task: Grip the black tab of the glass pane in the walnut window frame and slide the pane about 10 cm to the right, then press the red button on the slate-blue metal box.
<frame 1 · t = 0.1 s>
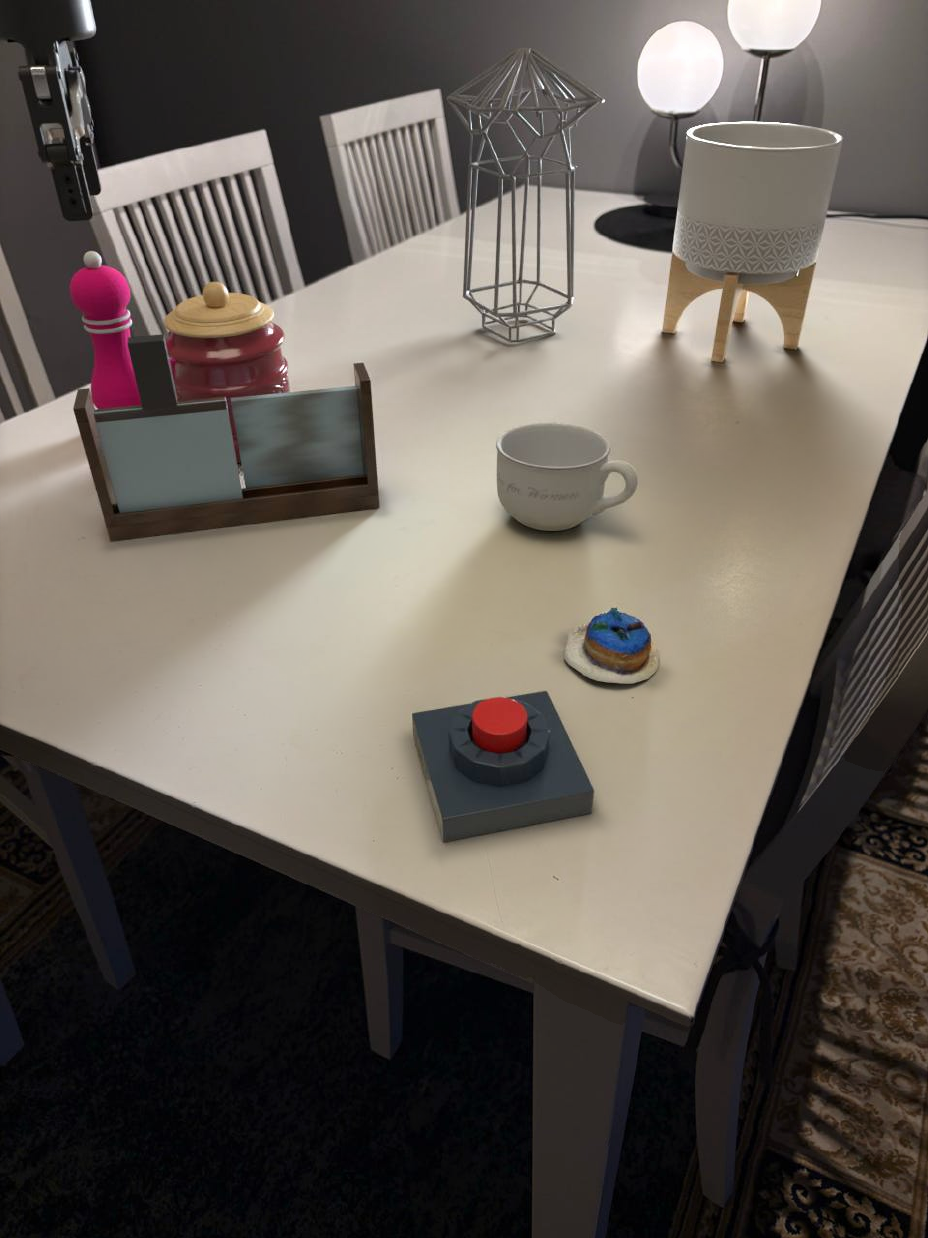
hand: (84, 206, 73), 29 cm above the table, tool pointing down, fingers open, 8 cm apart
window frame: (247, 513, 91), on the table
button: (499, 725, 60), point 4 cm above the table, slide at 0.1 cm
pepper mill: (134, 430, 107), on the table
kitchen canister: (240, 441, 104), on the table
window pane: (165, 430, 83), point 10 cm above the table, slide at 0.0 cm
dessert: (609, 658, 73), on the table
teacup: (561, 522, 90), on the table
button box: (498, 772, 63), on the table
planter: (728, 340, 129), on the table
geometric lantern: (517, 331, 133), on the table
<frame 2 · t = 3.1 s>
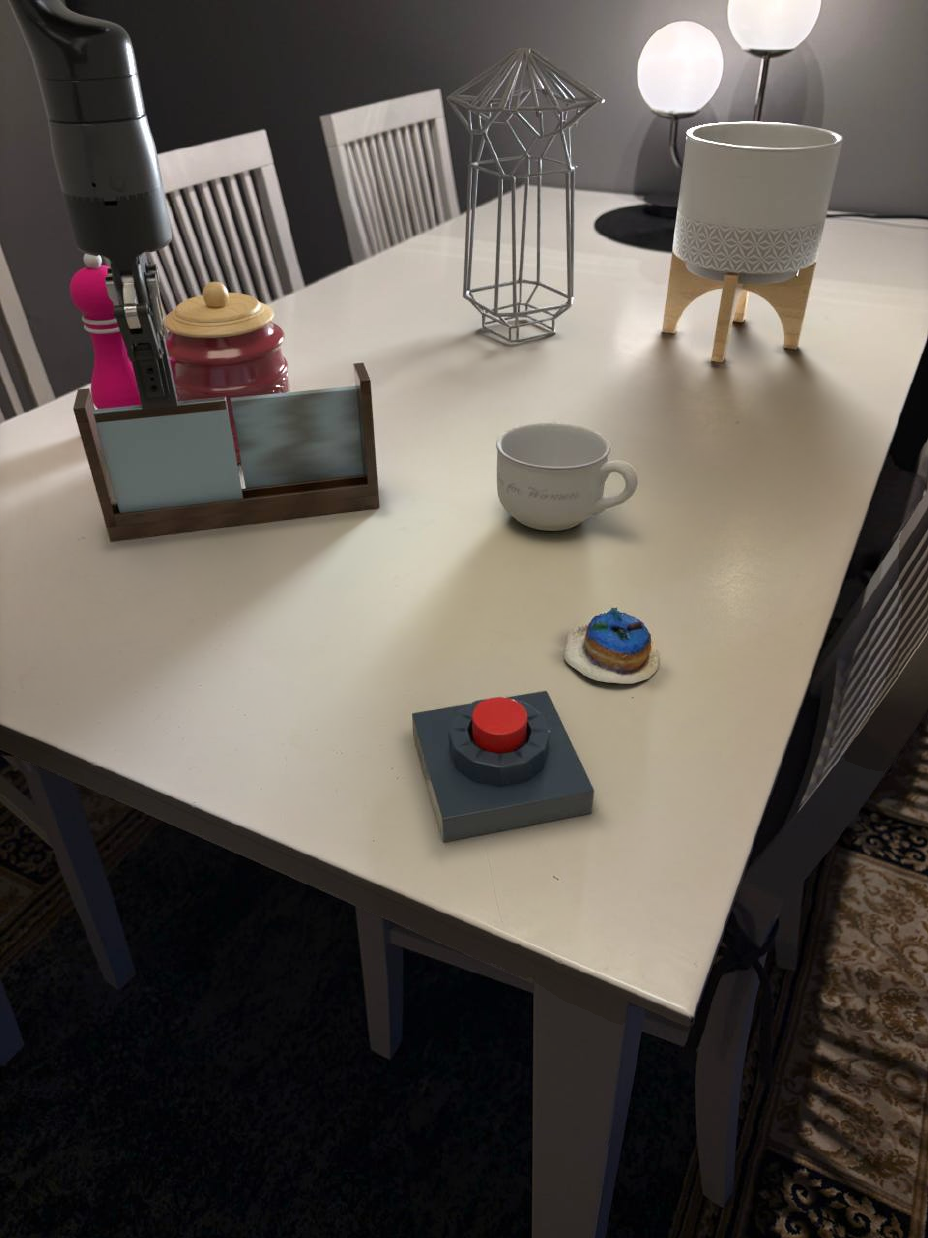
hand: (158, 393, 81), 14 cm above the table, tool pointing down, fingers closed on window pane
window pane: (166, 430, 83), point 10 cm above the table, slide at 0.0 cm, touching gripper
everything else where it was.
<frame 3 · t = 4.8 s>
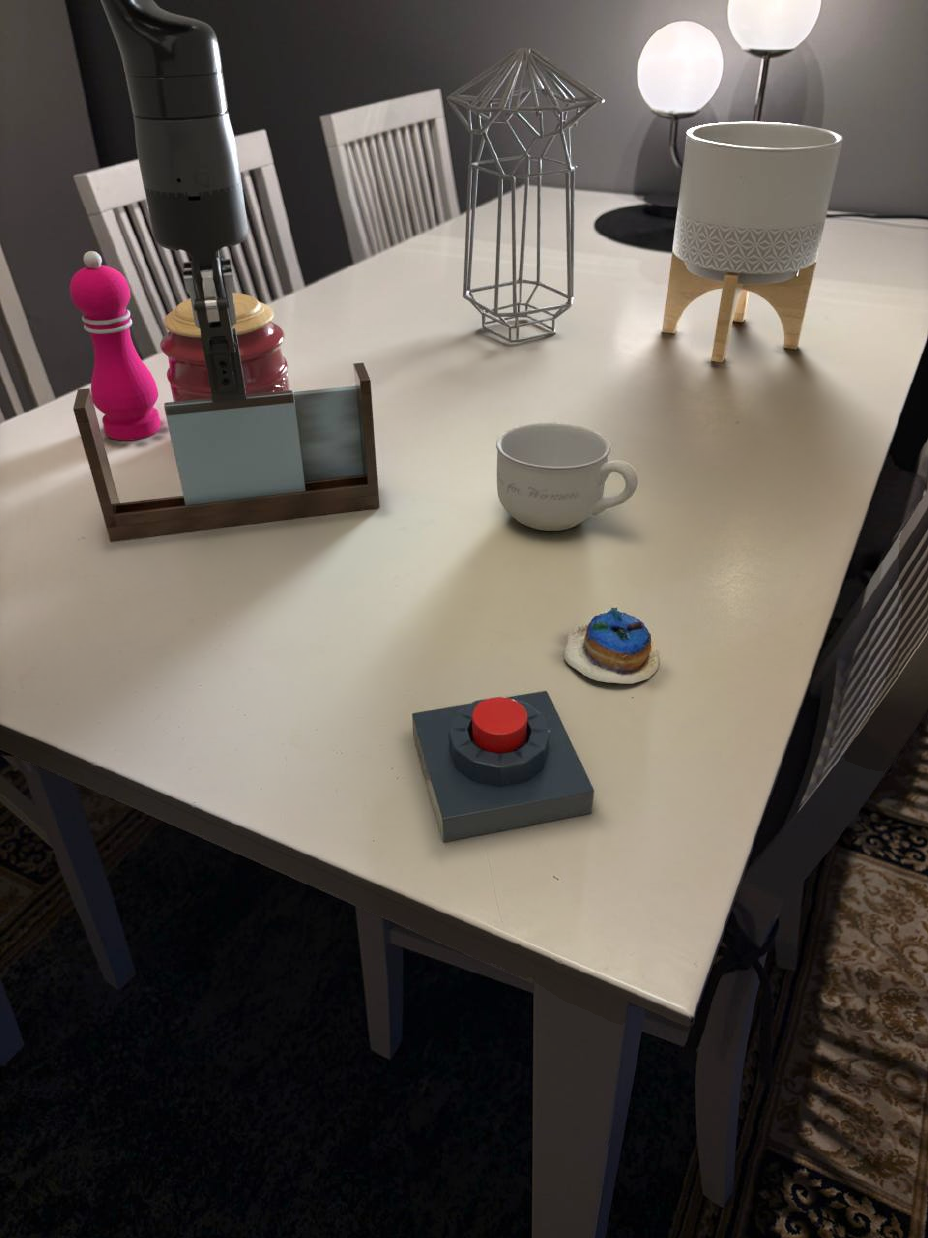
hand: (227, 386, 82), 14 cm above the table, tool pointing down, fingers closed on window pane
window pane: (233, 423, 84), point 10 cm above the table, slide at 6.1 cm, touching gripper
everything else where it was.
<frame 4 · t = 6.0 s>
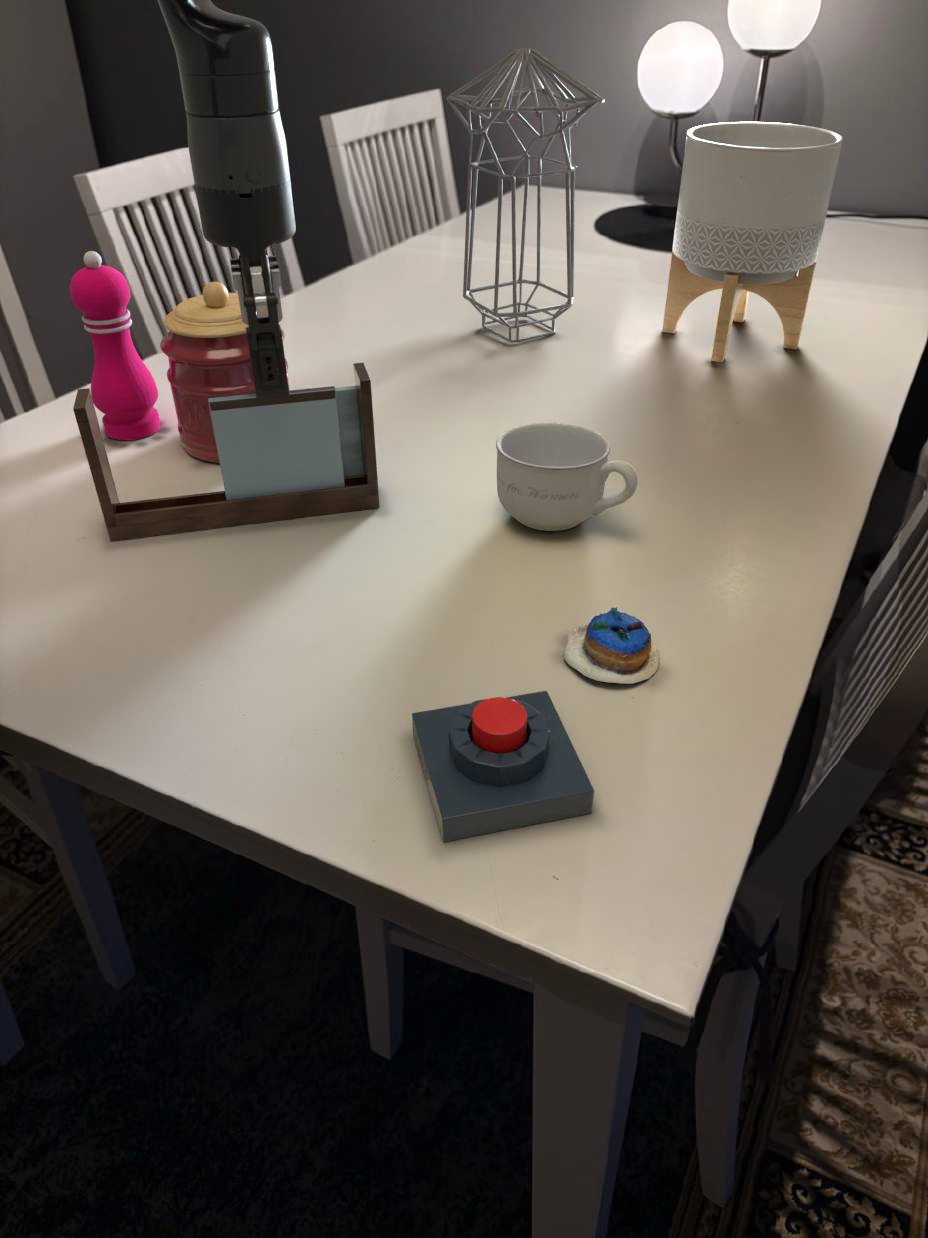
hand: (271, 382, 83), 14 cm above the table, tool pointing down, fingers closed on window pane
window pane: (276, 418, 85), point 10 cm above the table, slide at 9.9 cm, touching gripper
everything else where it was.
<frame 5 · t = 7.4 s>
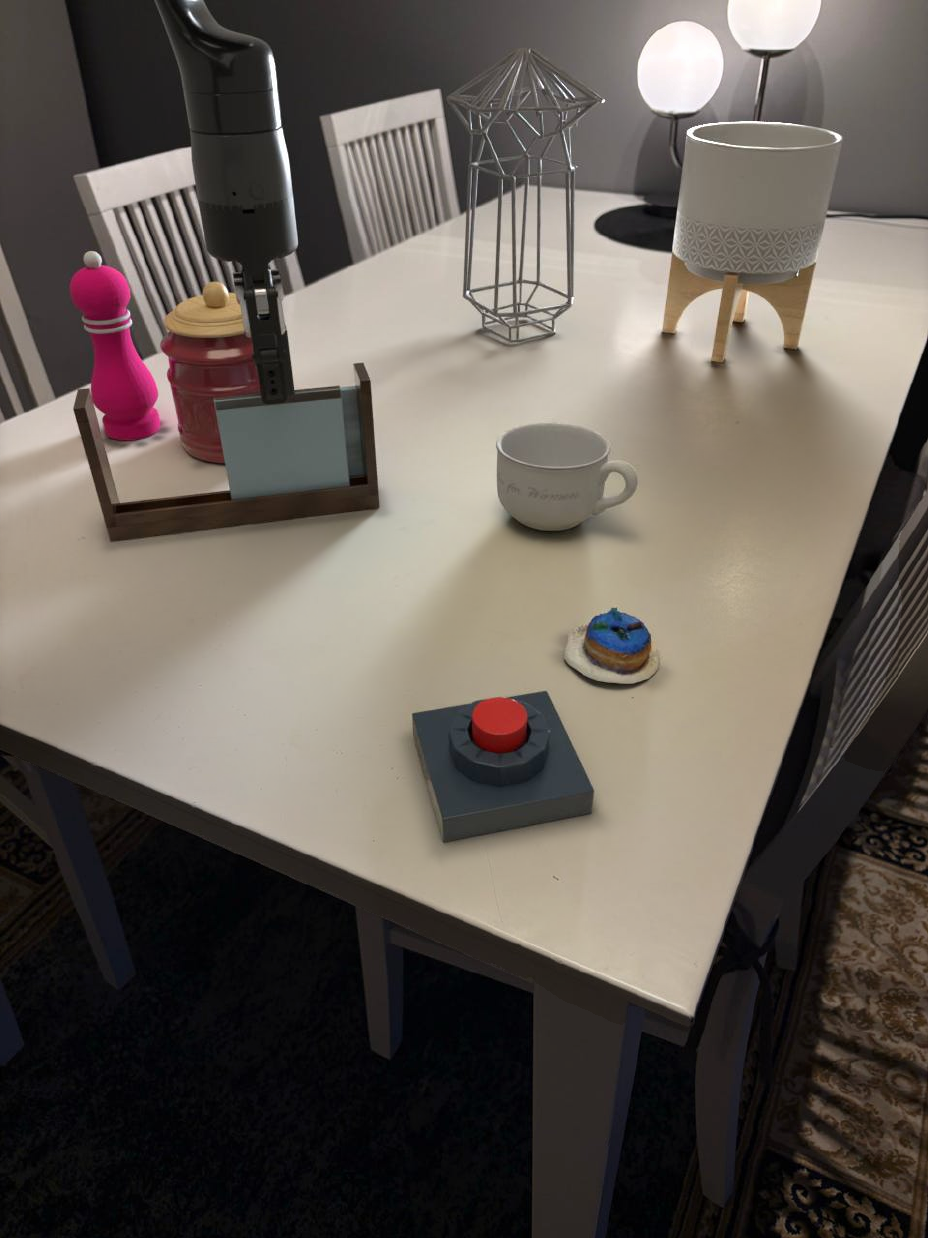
hand: (271, 383, 83), 14 cm above the table, tool pointing down, fingers open, 8 cm apart
window pane: (281, 418, 85), point 10 cm above the table, slide at 10.4 cm
everything else where it was.
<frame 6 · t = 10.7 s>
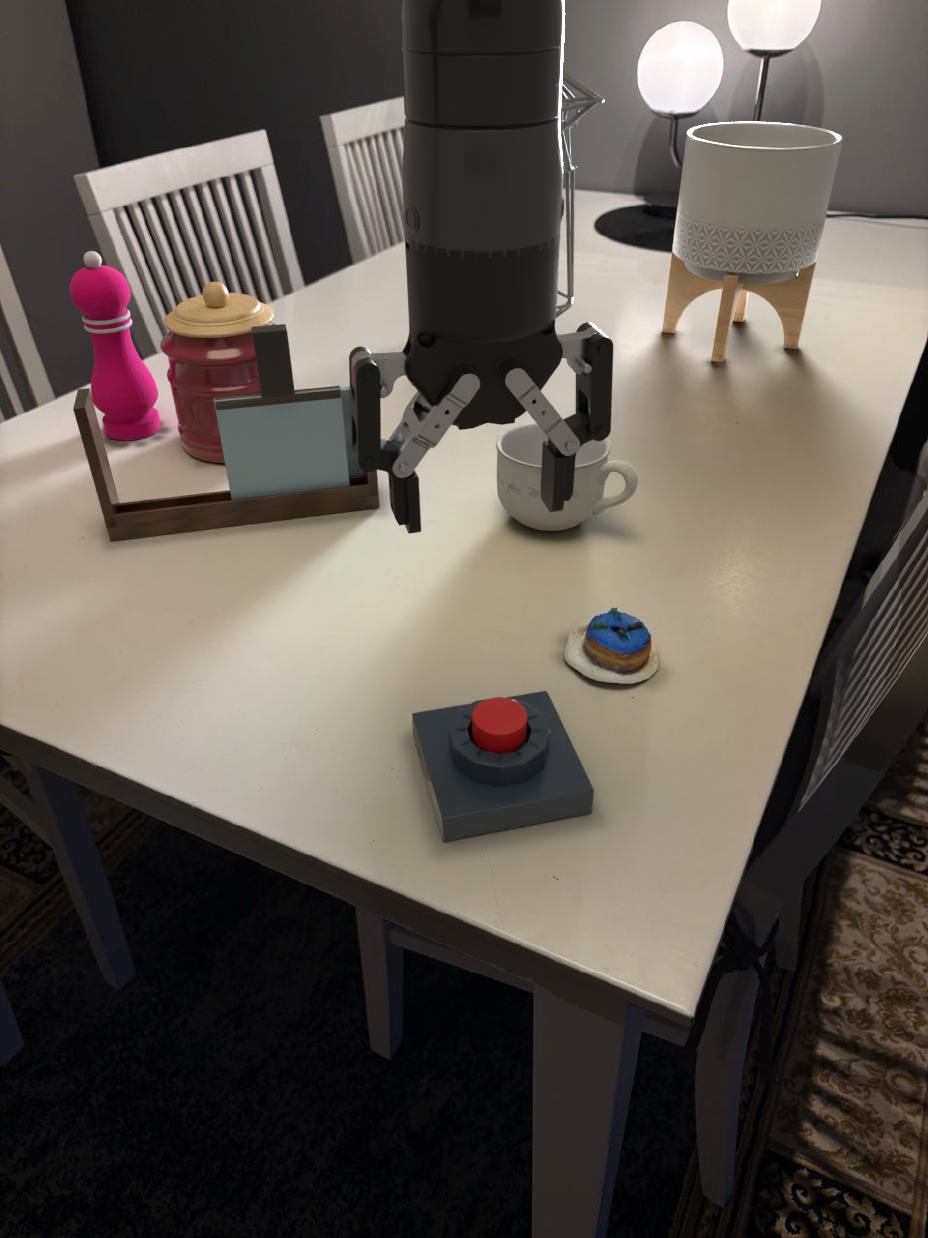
hand: (482, 515, 53), 19 cm above the table, tool pointing down, fingers open, 8 cm apart
nothing on the table moved.
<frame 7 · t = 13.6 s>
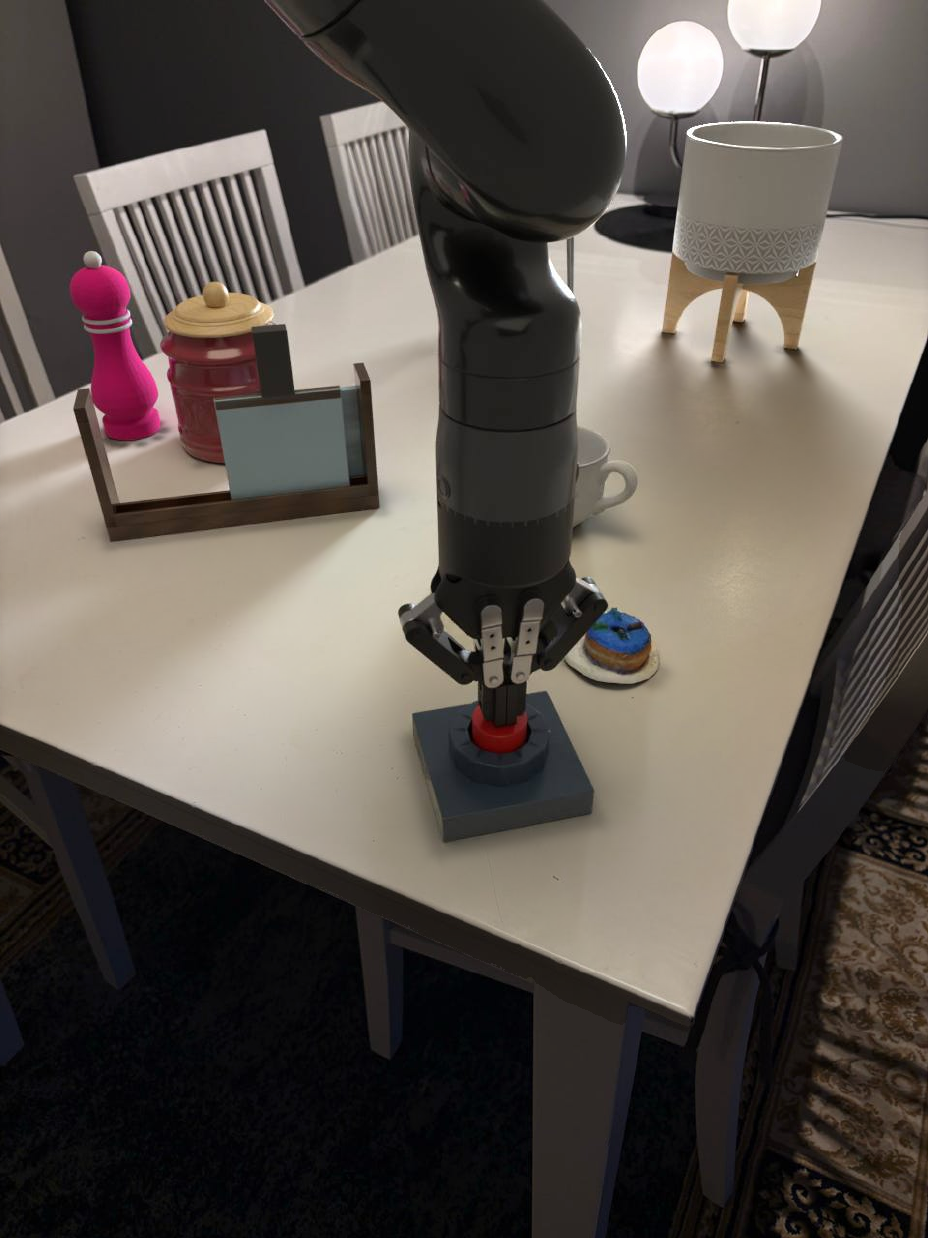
hand: (500, 717, 59), 5 cm above the table, tool pointing down, fingers closed
button: (499, 727, 60), point 4 cm above the table, slide at -0.1 cm, touching gripper
everything else where it was.
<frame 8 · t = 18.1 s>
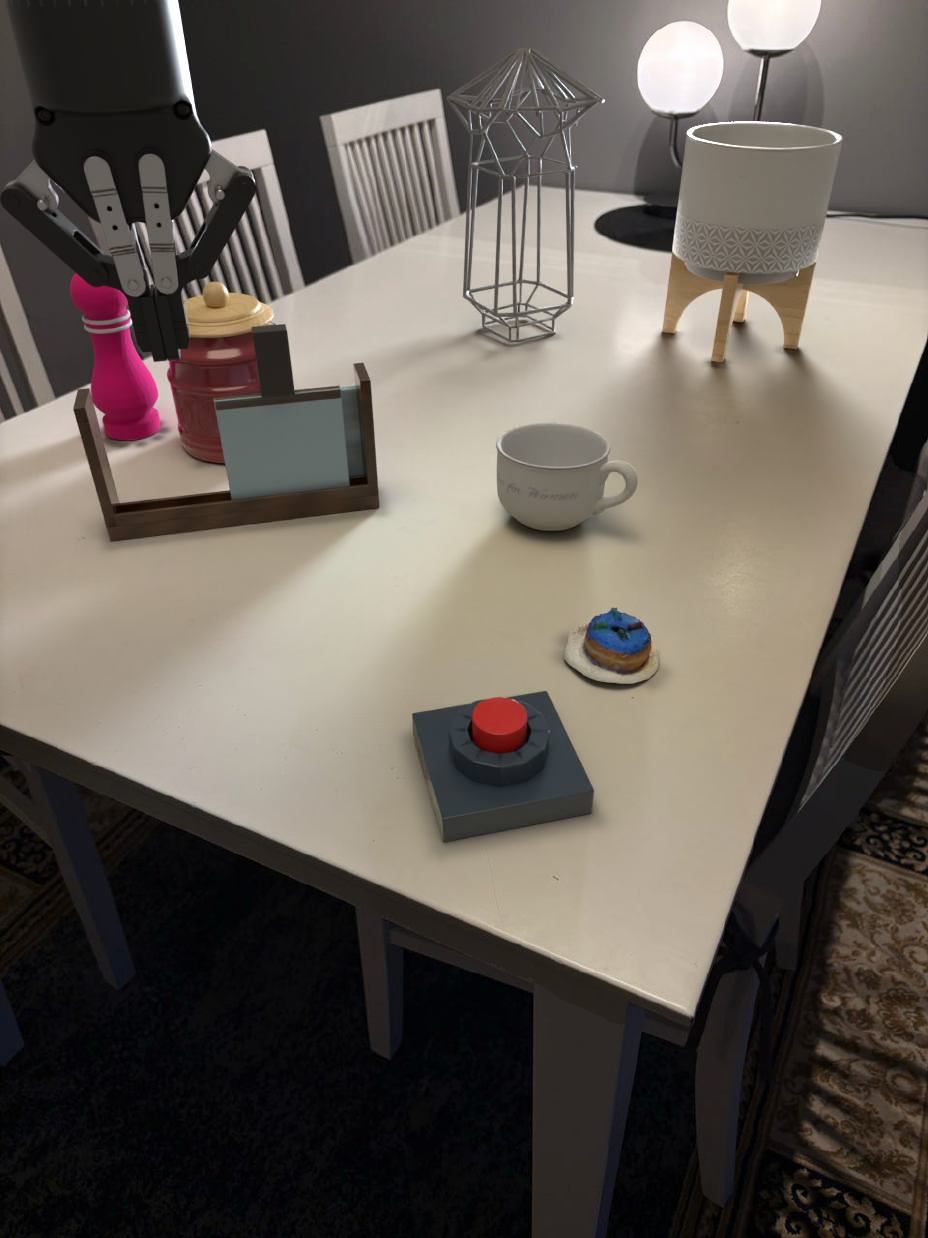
hand: (167, 355, 52), 27 cm above the table, tool pointing down, fingers closed
button: (499, 725, 60), point 4 cm above the table, slide at 0.1 cm
everything else where it was.
at the end: window pane slide at 10.4 cm; button pushed in 1.1 cm at the most during the clip, back to where it started at the end; button slide at 0.1 cm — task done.
